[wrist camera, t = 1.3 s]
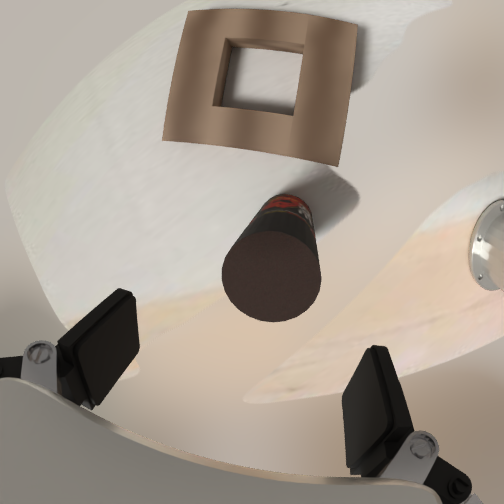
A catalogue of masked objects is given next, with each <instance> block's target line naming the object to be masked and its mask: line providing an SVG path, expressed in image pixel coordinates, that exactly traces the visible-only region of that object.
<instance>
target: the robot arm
mask: <svg viewBox="0 0 504 504" xmlns="http://www.w3.org/2000/svg"><path fill="white" fill-rule="evenodd" d="M469 266H470V271H471V274H472V276H473V278H474V280H475V281H476V282H477V283H478V284H479V285H480V286H481V287H482V288H484V289H486V290H490V291H494V290H499V289H501V290H502V291H503V292H504V200H499V201H497V202H494V203H493V204H491V205H490V206H489V207H488V208H487V209H486V210H485V211H484V212H483V213H482V215H481V216H480V218H479V220H478V221H477V224H476V226H475V228H474V231H473V234H472V237H471V241H470V246H469ZM139 348H140V344H139V334H138V323H137V311H136V298H135V297H134V296H133V294H132V292H130V291H127V290H124V289H121V288H118V289H117V290H115V291H114V292H113V293H112V294H111V295H110V296H108V297H107V298H106V299H105V300H104V301H102V302H101V303H100V304H99V305H98V306H97V307H95V308H94V309H93V310H92V311H91V312H90V313H88V314H87V315H86V316H85V317H84V318H83V319H82V320H80V321H79V322H78V323H77V324H76V325H75V326H74V327H73V328H71V329H70V330H69V331H68V332H67V333H66V334H65V335H64V336H63V337H61V338H60V339H59V340H58V344H57V345H56V346H54V345H53V344H52V343H51V342H48V341H35V342H33V343H31V344H30V345H28V347H27V348H26V349H25V351H24V354H23V356H16V357H6V358H0V504H483V503H482V501H481V500H480V499H479V498H478V496H477V495H476V494H475V493H474V494H473V495H471V490H472V484H471V480H470V479H469V477H468V476H466V474H464V473H463V472H461V471H459V470H458V469H456V468H455V467H454V466H452V465H451V464H449V463H448V462H446V461H445V460H443V459H442V458H440V457H439V456H438V452H439V445H438V442H437V440H436V439H435V437H433V436H432V435H431V434H430V433H428V432H425V431H415V432H414V428H413V424H412V421H411V417H410V414H409V410H408V407H407V404H406V400H405V397H404V394H403V391H402V388H401V384H400V382H399V380H398V377H397V374H396V371H395V368H394V365H393V363H392V360H391V357H390V354H389V351H388V349H387V347H385V346H377V345H372V346H371V348H367V349H366V351H365V353H364V355H363V357H362V359H361V361H360V363H359V365H358V367H357V369H356V371H355V372H354V374H353V376H352V378H351V380H350V382H349V384H348V385H347V387H346V389H345V391H344V393H343V395H342V409H343V420H344V432H345V449H346V465H347V467H348V468H350V474H351V475H361V477H356V478H355V477H322V476H308V475H296V474H287V473H279V472H272V471H265V470H259V469H253V468H248V467H243V466H238V465H233V464H229V463H224V462H220V461H216V460H212V459H208V458H205V457H201V456H198V455H194V454H191V453H188V452H185V451H182V450H178V449H175V448H172V447H169V446H167V445H164V444H161V443H158V442H156V441H153V440H151V439H148V438H145V437H143V436H140V435H138V434H136V433H133V432H131V431H129V430H126V429H124V428H122V427H120V426H118V425H116V424H113V423H111V422H109V421H107V420H105V419H103V418H101V417H99V416H97V415H95V414H93V413H91V412H89V411H87V410H86V409H84V408H82V407H80V405H83V406H85V407H87V408H88V409H90V410H93V408H94V407H95V405H97V406H98V405H100V404H101V402H102V401H103V400H104V398H105V397H106V395H107V394H108V393H109V391H110V390H111V389H112V387H113V386H114V384H115V383H116V382H117V380H118V379H119V378H120V376H121V375H122V374H123V372H124V371H125V370H126V368H127V367H128V366H129V364H130V363H131V362H132V360H133V359H134V358H135V356H136V355H137V354H138V352H139Z"/></svg>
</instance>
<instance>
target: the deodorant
mask: <svg viewBox="0 0 504 504" xmlns="http://www.w3.org/2000/svg"><path fill="white" fill-rule="evenodd" d="M222 282H223V286H224V290H225V292H226V294H227V296H228V297H229V299H230V301H231V302H232V303H233V304H234V305H235V306H236V307H237V308H238V309H239V310H240V311H241V312H243V313H244V314H246V315H248V316H249V317H252V318H255V319H257V320H260V321H267V322H280V321H286V320H289V319H292V318H295V317H297V316H299V315H300V314H302V313H303V312H305V311H306V310H307V309H308V308H309V307H310V306H311V305H312V304H313V303H314V301H315V299H316V297H317V295H318V293H319V291H320V285H321V272H320V265H319V259H318V251H317V245H316V238H315V232H314V226H313V220H312V215H311V212H310V209H309V207H308V206H307V205H306V204H305V202H304V201H302V200H301V199H300V198H298V197H296V196H293V195H288V194H282V195H277V196H274V197H272V198H270V199H269V200H268V201H267V202H266V203H265V204H264V205H263V206H262V208H261V209H260V210H259V212H258V213H257V214H256V216H255V217H254V218H253V220H252V221H251V222H250V223H249V225H248V226H247V227H246V229H245V230H244V231H243V233H242V234H241V235H240V237H239V238H238V239H237V241H236V242H235V243H234V245H233V246H232V248H231V249H230V251H229V252H228V254H227V255H226V257H225V260H224V263H223V267H222Z"/></svg>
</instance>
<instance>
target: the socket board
mask: <svg viewBox="0 0 504 504" xmlns="http://www.w3.org/2000/svg"><path fill="white" fill-rule="evenodd" d="M357 27H358V25H356V24H352V23H348V22H344V21H340V20H335V19H330V18H325V17H320V16H314V15H308V14H301V13H293V12H285V11H274V10H259V9H209V10H194V11H188V15H187V18H186V22H185V25H184V29H183V33H182V37H181V41H180V45H179V49H178V54H177V58H176V63H175V67H174V72H173V77H172V82H171V87H170V93H169V98H168V104H167V110H166V116H165V123H164V130H163V137H162V141H175V142H187V143H198V144H208V145H216V146H225V147H232V148H240V149H247V150H253V151H260V152H266V153H272V154H278V155H283V156H289V157H294V158H299V159H304V160H309V161H313V162H318V163H323V164H327V165H331V166H336V167H338V164H339V160H340V154H341V149H342V143H343V137H344V131H345V125H346V119H347V113H348V106H349V99H350V92H351V85H352V77H353V68H354V59H355V50H356V39H357ZM232 47H239V48H255V49H267V50H276V51H285V52H292V53H299V54H303V58H302V65H301V71H300V78H299V84H298V90H297V96H296V102H295V108H294V114H293V116H290V115H284V114H278V113H271V112H264V111H256V110H248V109H239V108H229V107H221V104H222V98H223V93H224V87H225V82H226V76H227V71H228V66H229V61H230V56H231V51H232Z"/></svg>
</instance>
